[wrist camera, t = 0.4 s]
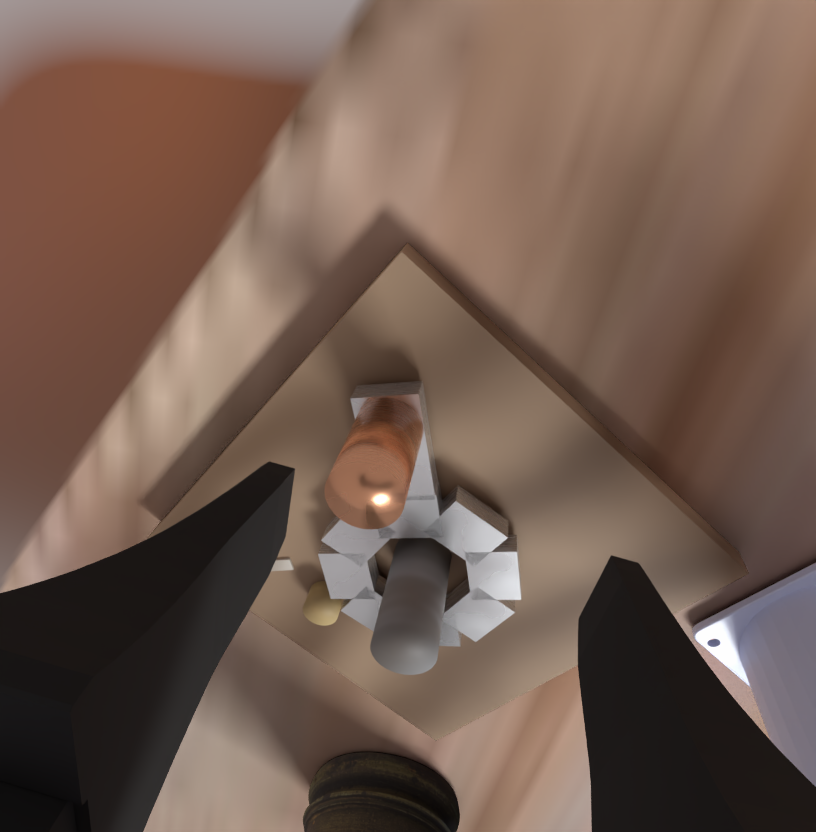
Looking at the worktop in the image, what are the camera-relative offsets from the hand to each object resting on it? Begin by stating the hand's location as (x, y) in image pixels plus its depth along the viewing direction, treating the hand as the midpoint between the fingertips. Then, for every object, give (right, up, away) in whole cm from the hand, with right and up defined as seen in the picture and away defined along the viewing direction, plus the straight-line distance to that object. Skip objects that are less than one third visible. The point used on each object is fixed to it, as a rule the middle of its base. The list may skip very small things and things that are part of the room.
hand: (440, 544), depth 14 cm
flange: (-1, -1, +11) cm, 11 cm away
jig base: (0, -2, +13) cm, 13 cm away
